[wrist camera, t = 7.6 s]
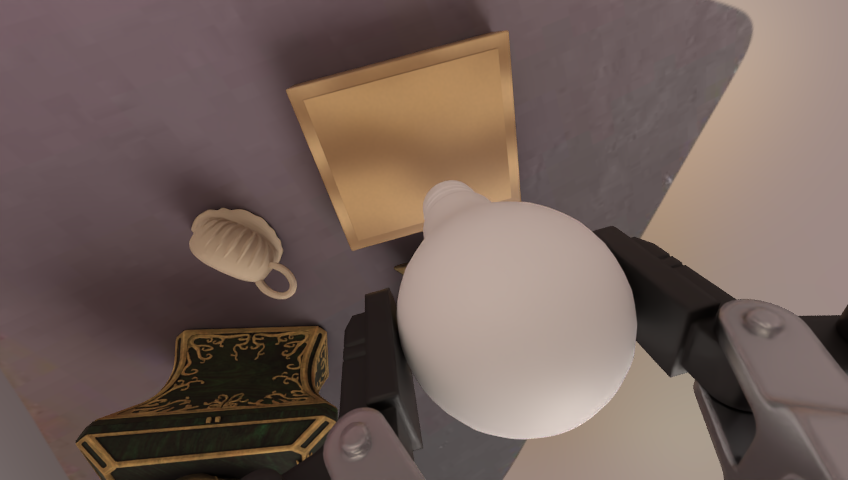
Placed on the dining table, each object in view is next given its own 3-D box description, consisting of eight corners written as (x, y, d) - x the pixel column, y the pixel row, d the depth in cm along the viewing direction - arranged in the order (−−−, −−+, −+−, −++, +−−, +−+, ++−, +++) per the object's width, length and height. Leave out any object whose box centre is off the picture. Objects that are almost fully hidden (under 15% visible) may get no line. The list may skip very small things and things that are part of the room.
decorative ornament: (215, 190, 25) (182, 222, 20) (312, 247, 29) (302, 285, 24) (189, 227, 26) (153, 266, 21) (286, 278, 30) (272, 320, 25)
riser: (293, 84, 22) (284, 89, 20) (492, 31, 23) (509, 29, 20) (352, 233, 29) (351, 251, 26) (507, 190, 29) (521, 204, 26)
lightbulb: (485, 256, 18) (618, 482, 9) (374, 247, 17) (389, 505, 7) (523, 146, 15) (780, 305, 6) (392, 122, 14) (456, 285, 4)
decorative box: (343, 316, 33) (323, 596, 16) (344, 380, 38) (328, 648, 21) (110, 323, 29) (-232, 698, 12) (143, 392, 34) (-72, 733, 17)
